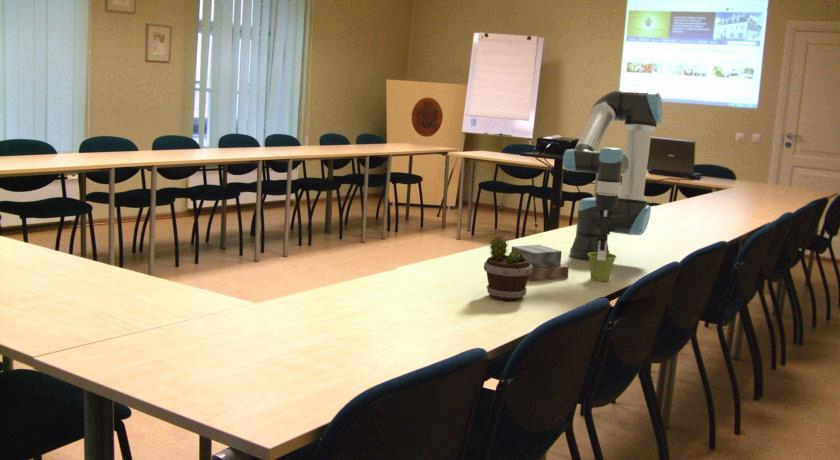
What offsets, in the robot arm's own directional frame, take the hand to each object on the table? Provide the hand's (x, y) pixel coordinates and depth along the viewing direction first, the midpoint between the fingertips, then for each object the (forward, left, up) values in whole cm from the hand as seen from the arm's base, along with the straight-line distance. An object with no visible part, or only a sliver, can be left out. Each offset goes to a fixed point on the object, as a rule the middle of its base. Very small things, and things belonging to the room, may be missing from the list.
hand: (601, 256), depth 277 cm
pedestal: (+17, -14, -8) cm, 23 cm away
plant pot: (0, 0, -8) cm, 8 cm away
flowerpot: (+46, +8, -8) cm, 47 cm away
